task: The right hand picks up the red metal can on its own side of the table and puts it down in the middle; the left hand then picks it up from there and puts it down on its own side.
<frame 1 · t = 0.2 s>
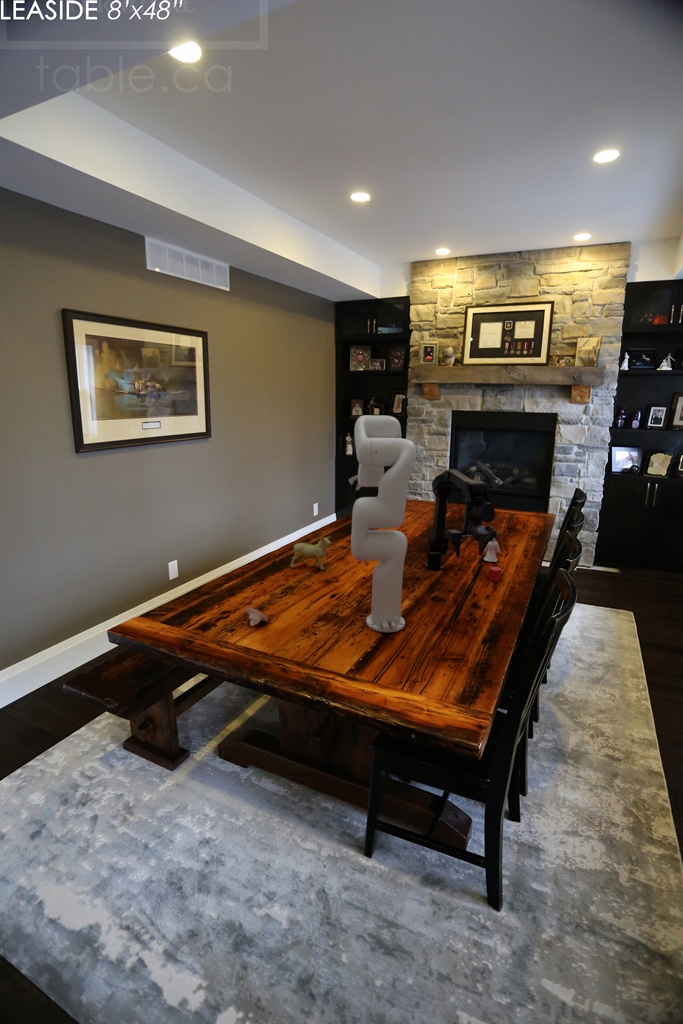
left hand: (370, 500, 198), 31 cm above the table, tool pointing down, fingers open, 9 cm apart
right hand: (469, 556, 185), 15 cm above the table, tool pointing down, fingers open, 9 cm apart
seashell: (256, 623, 161), on the table
figurine: (490, 560, 225), on the table
can: (494, 579, 203), on the table
toy: (311, 568, 211), on the table
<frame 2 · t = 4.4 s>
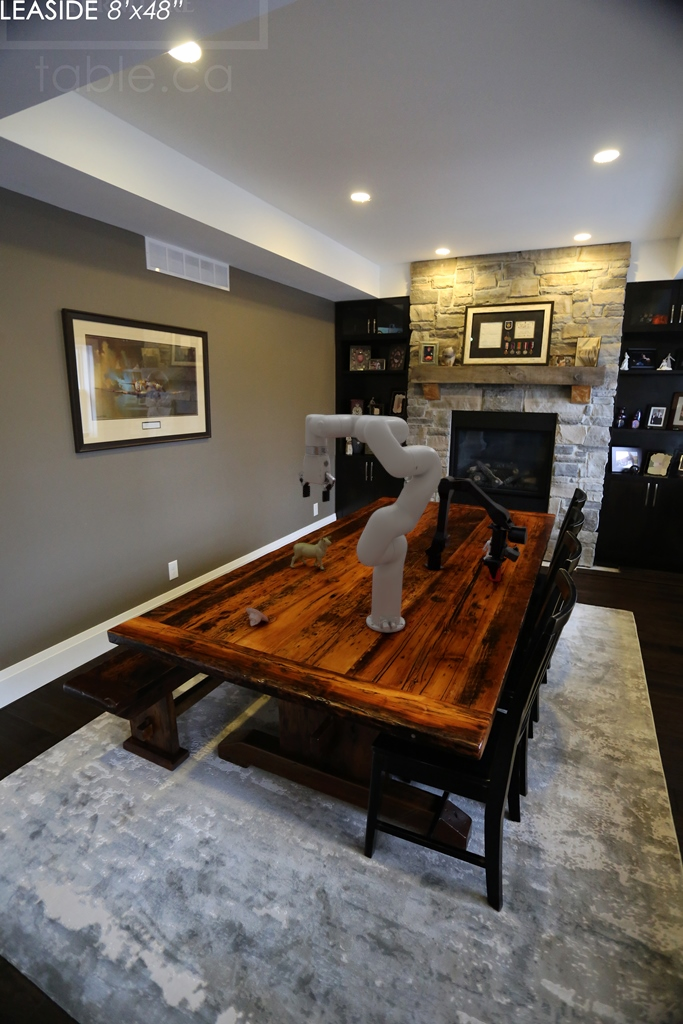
left hand: (316, 499, 176), 36 cm above the table, tool pointing down, fingers open, 9 cm apart
right hand: (495, 577, 202), 1 cm above the table, tool pointing down, fingers closed on can, 4 cm apart
can: (494, 579, 203), on the table, touching right hand
everything else where it was.
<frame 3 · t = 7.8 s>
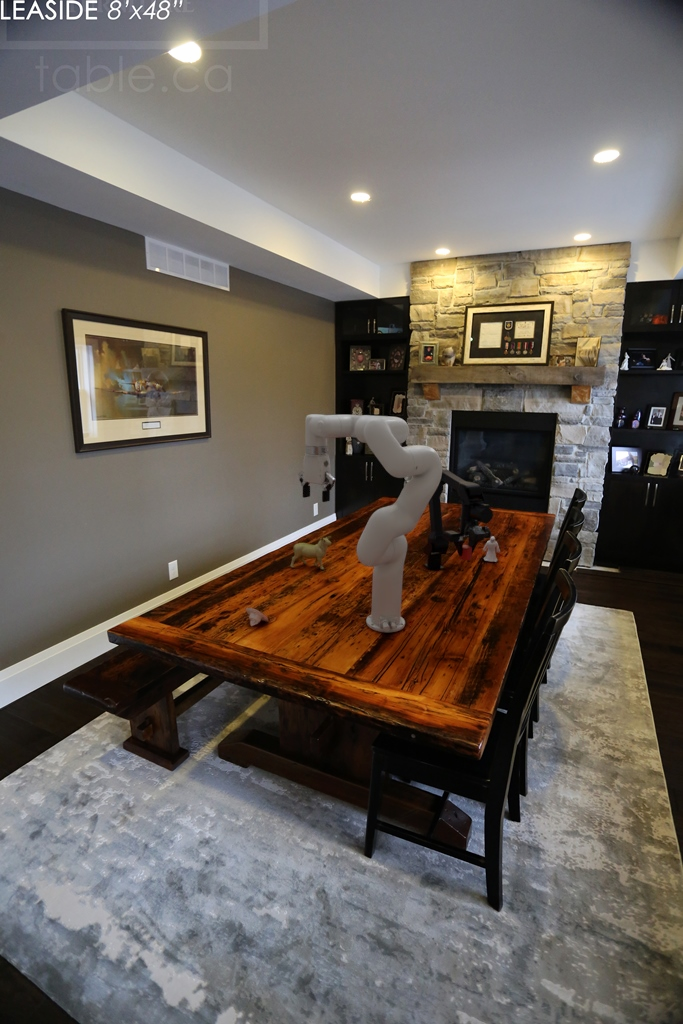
left hand: (316, 499, 176), 36 cm above the table, tool pointing down, fingers open, 9 cm apart
right hand: (465, 555, 194), 12 cm above the table, tool pointing down, fingers closed on can, 4 cm apart
can: (465, 558, 194), point 11 cm above the table, touching right hand
everything else where it was.
when the right hand's fingers open (2 cm above the table, at t = 11.2 s): can stays where it is, on the table.
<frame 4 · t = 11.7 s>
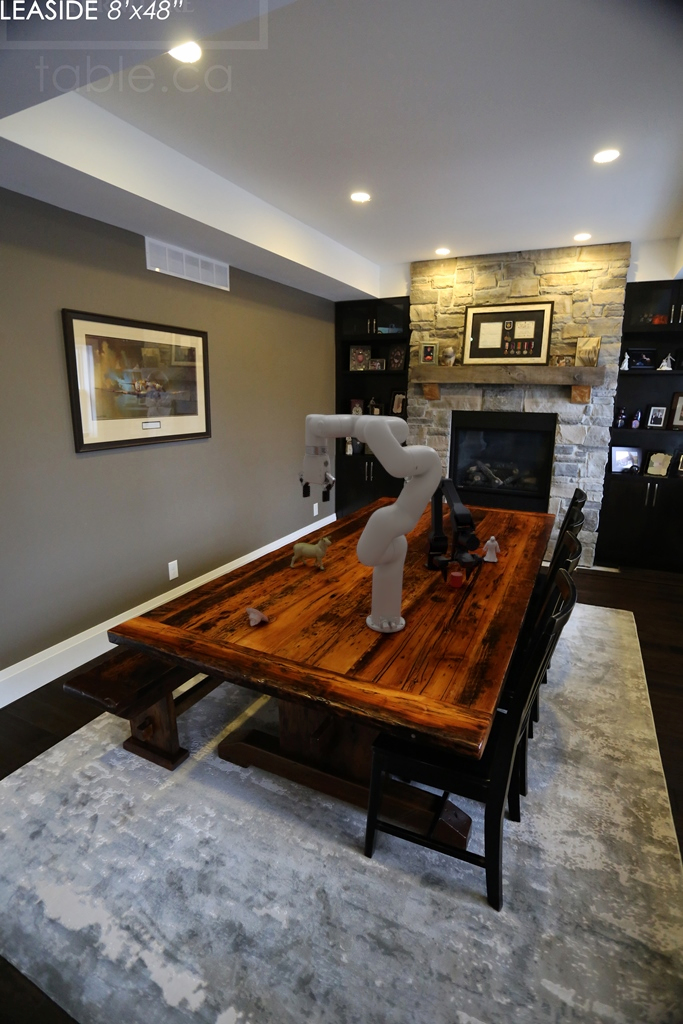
left hand: (316, 499, 176), 36 cm above the table, tool pointing down, fingers open, 9 cm apart
right hand: (456, 581, 196), 2 cm above the table, tool pointing down, fingers open, 9 cm apart
can: (456, 585, 196), on the table
everything else where it was.
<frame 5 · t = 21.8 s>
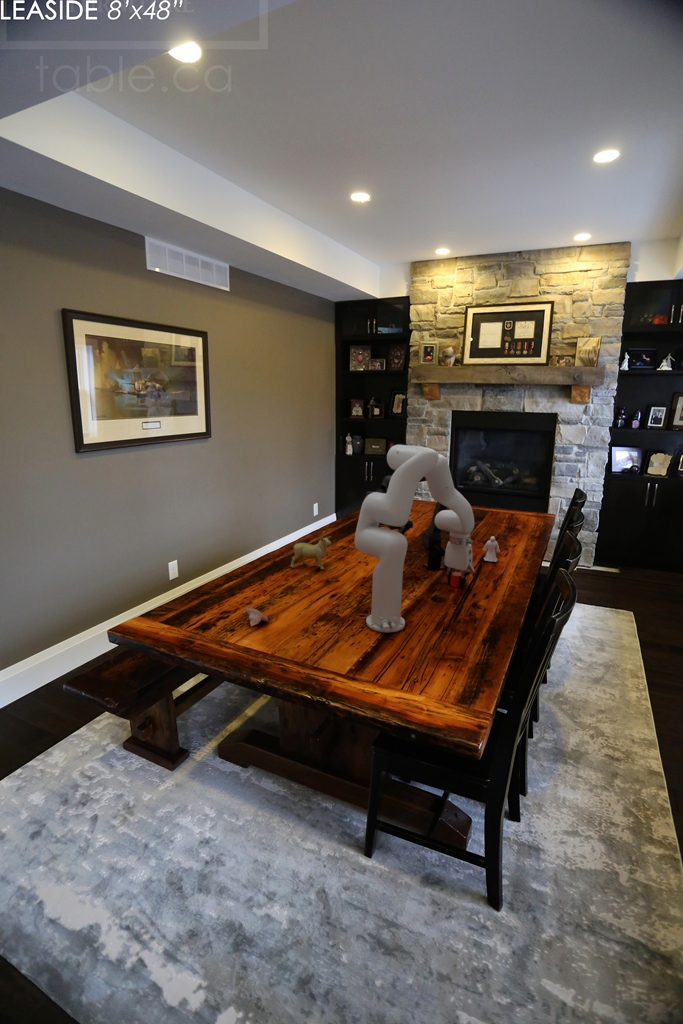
left hand: (456, 584, 196), 0 cm above the table, tool pointing down, fingers closed on can, 4 cm apart
right hand: (388, 544, 206), 12 cm above the table, tool pointing down, fingers open, 9 cm apart
can: (456, 585, 196), on the table, touching left hand
everything else where it was.
when the left hand's fingers open (1 cm above the table, at t = 30.8 s): can stays where it is, on the table.
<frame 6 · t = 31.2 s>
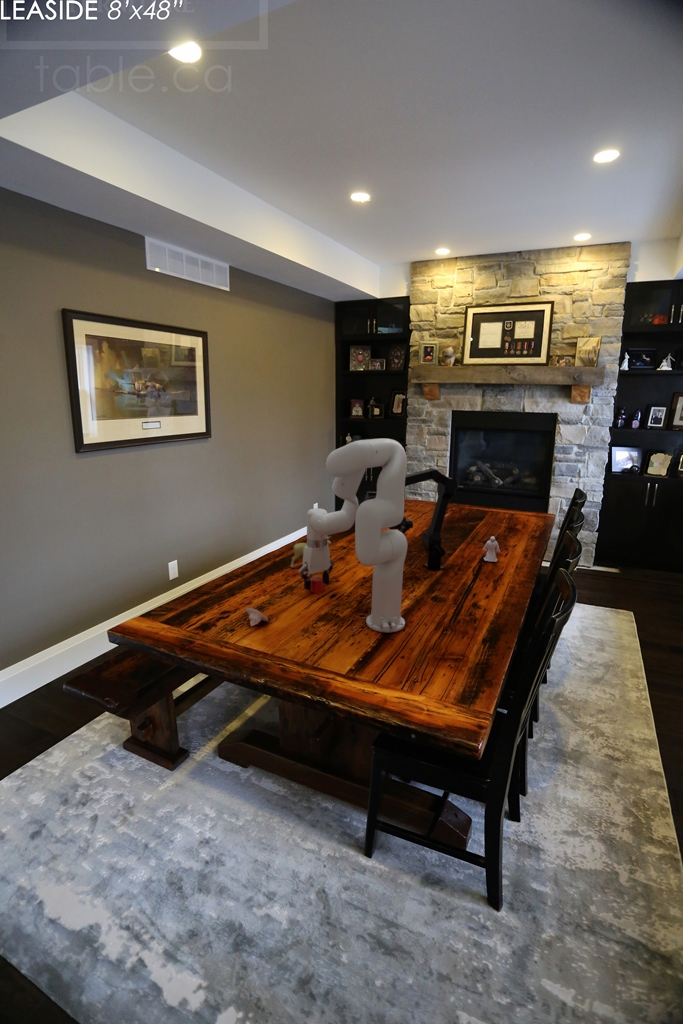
left hand: (316, 586, 188), 2 cm above the table, tool pointing down, fingers open, 8 cm apart
right hand: (388, 544, 206), 12 cm above the table, tool pointing down, fingers open, 9 cm apart
can: (316, 590, 188), on the table
everything else where it was.
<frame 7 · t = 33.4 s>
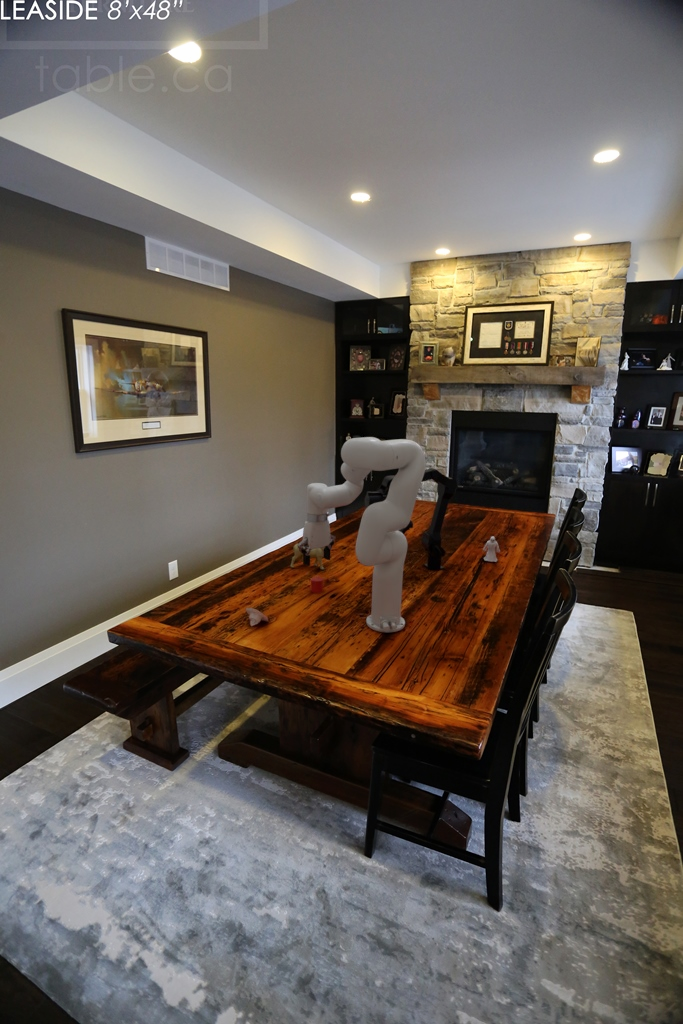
left hand: (316, 561, 185), 11 cm above the table, tool pointing down, fingers open, 9 cm apart
right hand: (388, 544, 206), 12 cm above the table, tool pointing down, fingers open, 9 cm apart
nothing on the table moved.
at the end: can inside the target area (0.0 cm from its centre), on the table; can tilted 0°; the two hands never held the can at the same time; the left hand is holding nothing; the right hand is holding nothing; can at rest at the end (0.0 cm/s) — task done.
